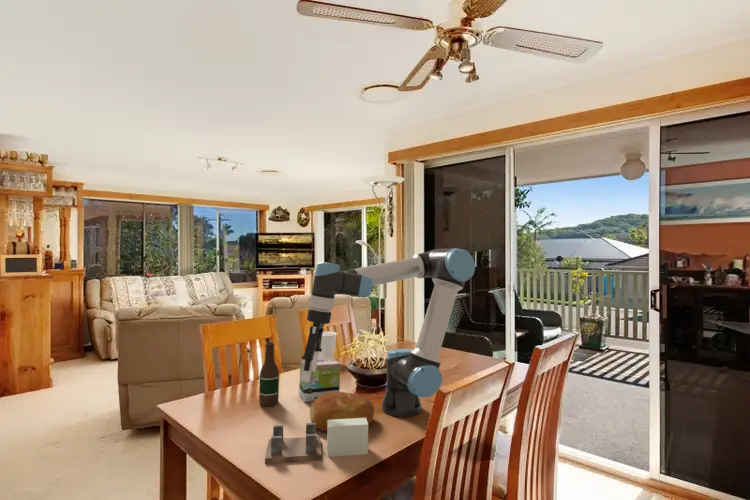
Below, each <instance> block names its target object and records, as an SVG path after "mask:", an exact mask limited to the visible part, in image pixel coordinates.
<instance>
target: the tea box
mask: <svg viewBox="0 0 750 500" xmlns="http://www.w3.org/2000/svg"><path fill="white" fill-rule="evenodd" d="M299 363H300V364H299V386H298V387H299V390H298V393H299V396H300V398H301V400H302V401H303V403H307V402H314V401H315V400H316V399H317V398H318V397H320V396H322V395H324V394H326V393H330V392H340V389H341V387H340V384H341V382H340V379H341V378H340V377H341V363H339V361H338V360H336V358H334V357H333V358H330V359H318V362H317V367H316V372H313V371H311V375H310V381H309V382H305V381H300V379H301V374H302V368H303V363H304V359H301V360H300V362H299Z"/></svg>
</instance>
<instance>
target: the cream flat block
mask: <svg viewBox="0 0 750 500" xmlns="http://www.w3.org/2000/svg"><path fill="white" fill-rule="evenodd" d="M326 433H327V435H326V436H327V437H326V438H327V439H326V449H327V450H326V452H327V457H328V458H329V457H345V456H358V455H361V456H362V455H369V426H368V422H367V419H366V418H352V419H334V420H327V431H326Z"/></svg>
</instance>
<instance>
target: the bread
mask: <svg viewBox="0 0 750 500" xmlns="http://www.w3.org/2000/svg"><path fill="white" fill-rule="evenodd" d="M374 414H375V407H374V405H373V403H372V402H371V401H370V400H369V399H368V398H367V397H365V396H361V395H360V394H355V393H351V392H344V391H339V392H330V393H326V394H324V395H322V396H320V397H318V398H317V399H316V400H315V401H312V403H311V405H310V410H309V419H310V421H311V422H310V423H316V429H318V430H321V431H324V432H327V420H334V419H352V418H366V419H367V422H368V427H369V426H370V425H371V423H372V422H373V420H374V419H373V418H374Z"/></svg>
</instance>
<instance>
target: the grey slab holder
mask: <svg viewBox="0 0 750 500" xmlns="http://www.w3.org/2000/svg"><path fill="white" fill-rule="evenodd" d="M272 427H273V428H272V436H271V437H270V438H269V439H268V441H267V446H266V447H267V448H266V452H265V457H264V465H265V464H266V465H267V464H279V463H280V464H282V463H293V462H294V463H295V462H308V461H320V460H321V461H322V447H321V446H322V444H321V435H317V431H316V429H317V427H316V423H312V422H310V423H309V422H307V423H305V436H303V437H286V438H284V424H274V425H273V426H272Z"/></svg>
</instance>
